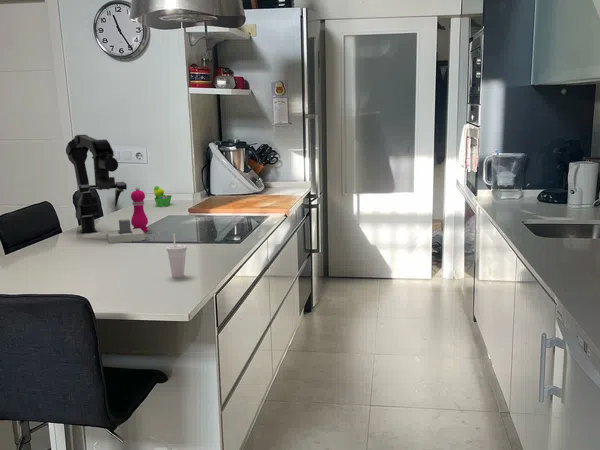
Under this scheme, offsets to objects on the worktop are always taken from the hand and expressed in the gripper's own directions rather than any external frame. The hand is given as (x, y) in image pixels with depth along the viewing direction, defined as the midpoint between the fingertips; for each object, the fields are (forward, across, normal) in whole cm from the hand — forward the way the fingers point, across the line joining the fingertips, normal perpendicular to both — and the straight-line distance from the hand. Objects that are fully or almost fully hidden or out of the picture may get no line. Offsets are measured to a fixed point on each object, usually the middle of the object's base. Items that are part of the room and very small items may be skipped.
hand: (104, 207), depth 251 cm
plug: (+13, +7, -7) cm, 16 cm away
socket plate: (+13, +7, -7) cm, 16 cm away
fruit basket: (+13, +38, +79) cm, 89 cm away
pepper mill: (+13, +15, +7) cm, 21 cm away
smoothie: (+13, +15, -74) cm, 77 cm away
